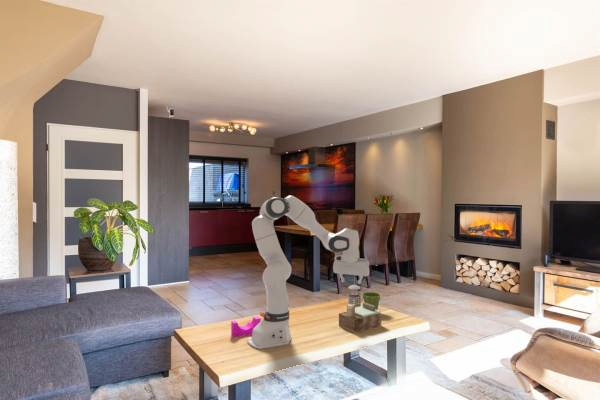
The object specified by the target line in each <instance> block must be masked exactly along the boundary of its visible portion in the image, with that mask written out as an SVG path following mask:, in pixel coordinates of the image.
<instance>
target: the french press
mask: <svg viewBox="0 0 600 400" xmlns="http://www.w3.org/2000/svg"><path fill="white" fill-rule="evenodd" d="M355 276H356V275H353V279H354V283H353V284H352V285H349V286H348V287H347V288H348V290H352V291H354V292H349V293H348V296H347V297H348V302H347V303H348V304H354V305H355V308H356V307H360V306H362V305H361V303H362V302H363V301H364V299H363V298H362V297H363V295H362V293H363V292H362V291H360V290H361V286H359V285H357V284H355ZM358 290H359V291H358ZM355 291H357V292H355Z"/></svg>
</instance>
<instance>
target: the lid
mask: <svg viewBox="0 0 600 400" xmlns="http://www.w3.org/2000/svg"><path fill="white" fill-rule="evenodd" d="M379 313H381V310H379V309H378V310H376V306H374V305H371V304H368V303H364V302H363V303H362V305H361V306H360V307H356V308H355V314H356V315H358V316H361V317H367V316H371V315H375V314H379ZM381 314H382V313H381Z"/></svg>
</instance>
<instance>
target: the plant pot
mask: <svg viewBox="0 0 600 400" xmlns="http://www.w3.org/2000/svg"><path fill="white" fill-rule="evenodd" d="M362 295H363V296H362ZM361 296H362V299H363V303H368V304H371V305H374V306H376V310H378V311H379V303H380V299H381V297H382V294H381V293H379V292H374V291H366V292H362V293H361Z"/></svg>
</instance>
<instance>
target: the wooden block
mask: <svg viewBox="0 0 600 400" xmlns="http://www.w3.org/2000/svg"><path fill="white" fill-rule="evenodd" d="M346 312H347V316H348V317H354V316H355V304H347V303H346Z"/></svg>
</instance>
